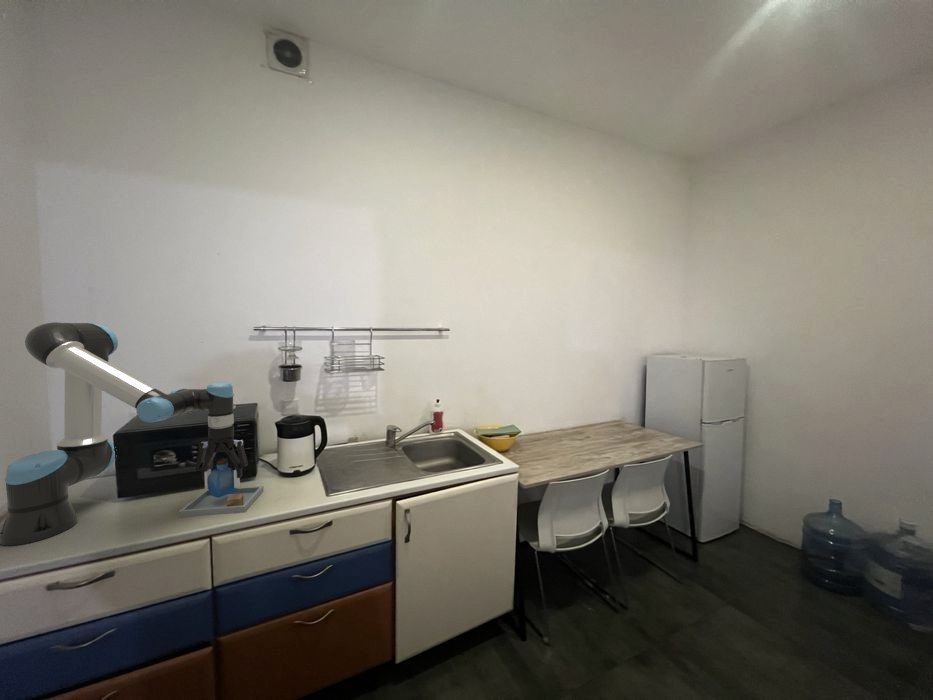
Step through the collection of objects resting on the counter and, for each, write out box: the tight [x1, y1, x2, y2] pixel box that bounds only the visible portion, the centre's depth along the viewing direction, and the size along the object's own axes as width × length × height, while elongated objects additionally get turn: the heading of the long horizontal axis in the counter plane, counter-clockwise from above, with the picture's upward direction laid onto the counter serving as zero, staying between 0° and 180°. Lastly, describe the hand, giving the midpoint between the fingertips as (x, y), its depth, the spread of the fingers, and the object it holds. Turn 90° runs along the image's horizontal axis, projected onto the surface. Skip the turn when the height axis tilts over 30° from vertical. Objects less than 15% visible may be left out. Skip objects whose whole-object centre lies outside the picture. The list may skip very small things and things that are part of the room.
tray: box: [178, 485, 264, 518], centre depth 123 cm, size 20×16×2 cm
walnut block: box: [227, 494, 243, 507], centre depth 119 cm, size 4×4×4 cm
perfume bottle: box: [208, 458, 238, 498], centre depth 123 cm, size 6×6×12 cm
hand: (222, 487), depth 123 cm, fingers closed on perfume bottle, 9 cm apart
